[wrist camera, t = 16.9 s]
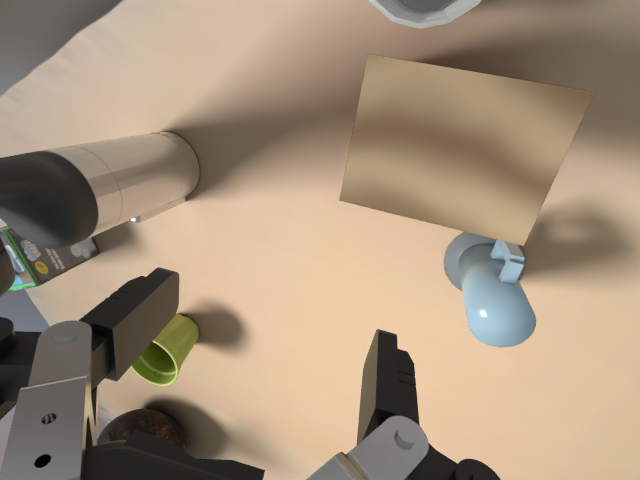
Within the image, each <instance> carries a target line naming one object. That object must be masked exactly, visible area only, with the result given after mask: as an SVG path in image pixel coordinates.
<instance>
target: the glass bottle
mask: <svg viewBox="0 0 640 480" xmlns="http://www.w3.org/2000/svg"><path fill="white" fill-rule="evenodd" d="M134 429H135V430H138V431H141V432H144V433H148V434H151V435H154V436H157V437H160V438H163V439H166V440H168V441H169V442H171V443H172V444H174V445H175V446H176V447H178V448H179V449H181V450H182V451H184V452H185V453H187V446H186V440H185V437H184V434H183V432H182V430H181V428H180V427H179V425H178V424H177V423H176V422H175V421H174V420H173V419H172V418H171V417H169V416H168V415H166V414H164V413H162V412H160V411H156V410H152V409H137V410H133V411H130V412H127V413H125V414H122V415H120V416H119V417H117V418H115V419H114V420H113V421H111V422H110V423H109V424H108V425H107V426H106V427H105V428H104V429H103V431H102V432H101V434H100V435H99V437H98V439H97V445H98V444H102V443H105V442H111V441H118V440H127V439H128V438H129V436H130V435H131V434H132V432H133V431H134Z"/></svg>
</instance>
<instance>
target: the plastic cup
mask: <svg viewBox="0 0 640 480" xmlns="http://www.w3.org/2000/svg"><path fill="white" fill-rule="evenodd" d="M369 1H370V3H371V4H372V5H373V6H374V7H375V8H377V9H378V10H379V11H380V12H381V13H382V14H384V15H385V16H386V17H387V18H388V19H389V20H391V21H392V22H394V23H398V24H402V25H406V26H410V27H413V28H417V29H422V28H427V27H433V26H438V25H443V24H448V23H450V22H452V21H454V20H455V19H457V18H458V17H460V16H461V15H463V14H464V13H466V12H467V11H469V10H471V9H472V8H474V7H475V6H477V5H478V4H479V3H480V2H481V0H369Z"/></svg>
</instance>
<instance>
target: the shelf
mask: <svg viewBox="0 0 640 480" xmlns="http://www.w3.org/2000/svg"><path fill="white" fill-rule="evenodd" d="M593 94H594V92H592V91H586V90H580V89H574V88H568V87H562V86H556V85H550V84H544V83H538V82H532V81H526V80H521V79H515V78H509V77H503V76H497V75H491V74H485V73H479V72H473V71H467V70H461V69H455V68H449V67H443V66H437V65H431V64H425V63H419V62H413V61H407V60H401V59H395V58H389V57H383V56H377V55H371V54H368V56H367V61H366V67H365V72H364V77H363V82H362V87H361V92H360V97H359V102H358V107H357V112H356V118H355V123H354V128H353V133H352V138H351V143H350V148H349V153H348V158H347V163H346V169H345V174H344V179H343V184H342V189H341V194H340V199H339V200H340V201H344V202H348V203H352V204H356V205H360V206H364V207H368V208H372V209H376V210H380V211H384V212H388V213H392V214H396V215H400V216H404V217H408V218H413V219H417V220H421V221H425V222H429V223H433V224H437V225H441V226H445V227H449V228H453V229H457V230H461V231H465V232H469V233H473V234H477V235H481V236H485V237H489V238H493V239H497V240H501V241H506V242H510V243H514V244H518V245H522V246H524V244H525V242H526V240H527V238H528V236H529V233H530V231H531V229H532V227H533V225H534V223H535V220H536V218H537V216H538V214H539V212H540V210H541V207H542V205H543V203H544V201H545V199H546V196H547V194H548V192H549V190H550V188H551V186H552V183H553V181H554V179H555V177H556V175H557V173H558V170H559V168H560V166H561V164H562V162H563V159H564V157H565V155H566V153H567V151H568V149H569V146H570V144H571V142H572V140H573V138H574V135H575V133H576V131H577V129H578V127H579V125H580V122H581V120H582V118H583V116H584V114H585V112H586V109H587V107H588V105H589V103H590V101H591V98H592V96H593Z"/></svg>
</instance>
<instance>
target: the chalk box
mask: <svg viewBox="0 0 640 480" xmlns="http://www.w3.org/2000/svg"><path fill="white" fill-rule="evenodd" d="M0 237H1V239H2V241H3V244H4V247H5V248H6V250H7V252H8V254H9V257H10V259H11V261H12V264H13V267H14V271H15V281H14V283H13V285H12V286H11V288H10V289H9V290H8V291H6V292H9V291H15V290H20V289H24V288H32V287H37V286H40V285H42V284H44V283H46V282H47V281H49V280H51V279H53V278H55V277H57V276H59V275H61V274H63V273H65V272H67V271H68V270H70V269H72V268H74V267H76V266H78V265H80V264H82V263H84V262H85V261H87V260H89V259H91V258H93V257H95V256H97V255H98V254H100V253H99V251H98V249H97V247H96V246H95V243H94V242H93V240H92V238H91V237H90V238H88V239H85V240H83V241H81V242H79V243H76V244H74V245H72V246H69V247H66V248H62V249H47V248H43V247H39V246H37V245H34V244H32V243H30V242H29V241H27V240H25V239H24V238H22V237H21V236H20V235H18V234H17V233H16V232H15V231H14V230H13V229H12V228H11V227H9V226H5V227H2V228H0Z"/></svg>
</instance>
